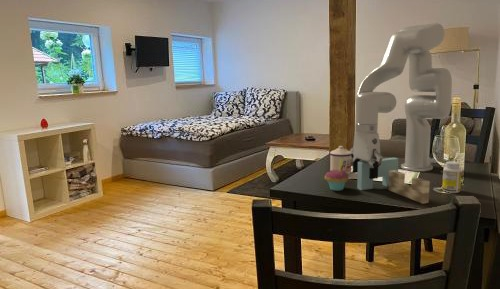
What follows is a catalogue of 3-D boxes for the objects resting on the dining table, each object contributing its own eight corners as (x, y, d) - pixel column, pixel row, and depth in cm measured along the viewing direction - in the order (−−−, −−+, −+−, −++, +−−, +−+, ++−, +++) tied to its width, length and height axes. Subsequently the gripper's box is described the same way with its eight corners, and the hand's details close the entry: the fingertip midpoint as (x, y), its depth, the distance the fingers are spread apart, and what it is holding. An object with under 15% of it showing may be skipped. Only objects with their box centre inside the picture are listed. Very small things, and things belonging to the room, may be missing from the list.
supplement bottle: (453, 188, 132) (455, 160, 130) (463, 193, 127) (465, 163, 125) (438, 189, 132) (440, 161, 130) (448, 194, 126) (450, 164, 124)
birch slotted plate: (388, 189, 133) (389, 171, 131) (394, 189, 133) (394, 170, 132) (422, 203, 118) (423, 182, 116) (428, 202, 118) (429, 181, 117)
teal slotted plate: (393, 183, 141) (394, 157, 139) (397, 184, 138) (398, 158, 137) (357, 188, 136) (357, 161, 134) (361, 190, 133) (361, 163, 132)
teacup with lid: (343, 177, 151) (343, 149, 149) (325, 173, 158) (325, 146, 156) (360, 171, 159) (360, 144, 157) (342, 168, 166) (342, 142, 164)
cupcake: (344, 185, 140) (345, 154, 138) (351, 191, 132) (352, 159, 130) (322, 186, 140) (322, 155, 138) (327, 192, 132) (327, 160, 129)
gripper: (391, 130, 124) (389, 180, 127) (360, 125, 140) (359, 169, 143) (373, 132, 122) (371, 182, 125) (343, 126, 138) (342, 171, 141)
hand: (364, 175), depth 134 cm, fingers open, 9 cm apart
